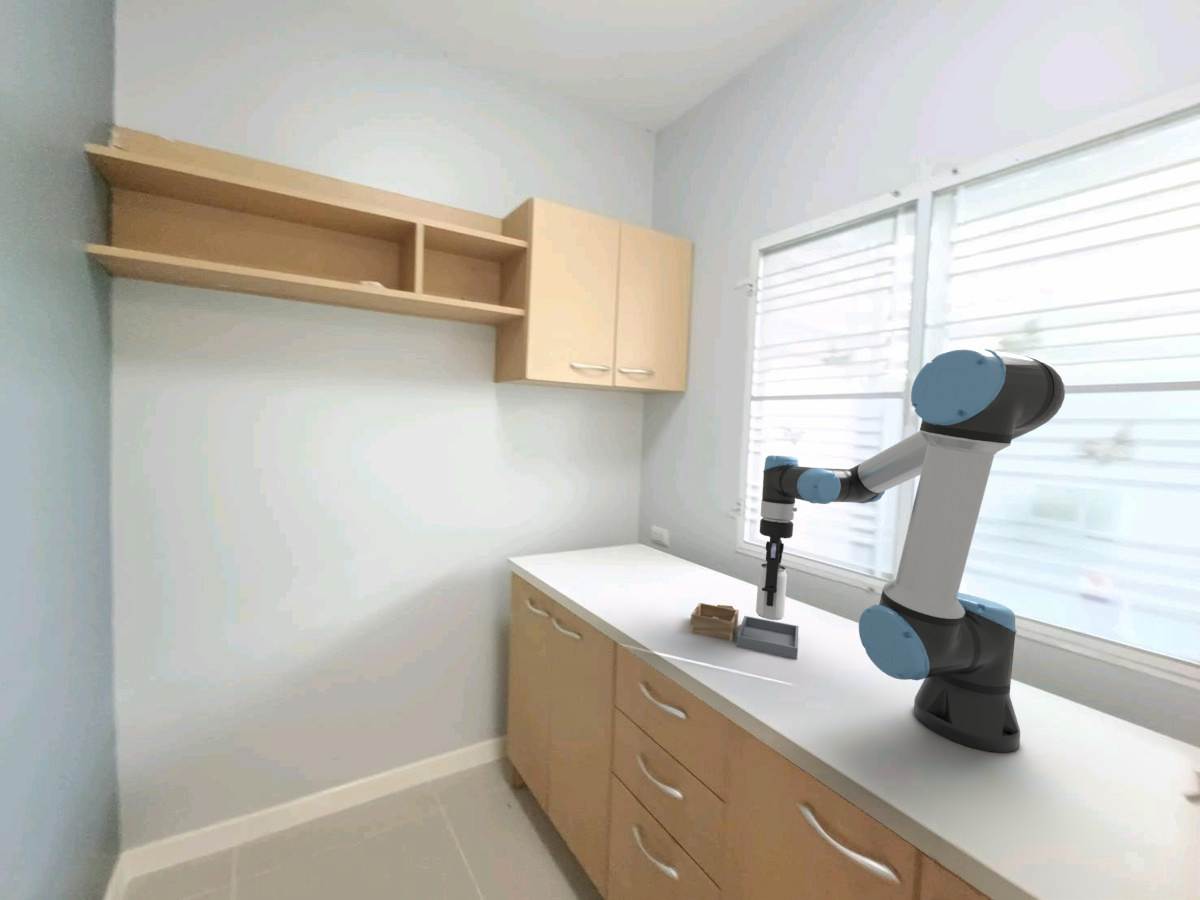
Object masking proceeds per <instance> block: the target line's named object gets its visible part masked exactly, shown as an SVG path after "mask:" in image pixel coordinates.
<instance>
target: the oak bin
mask: <svg viewBox="0 0 1200 900" xmlns="http://www.w3.org/2000/svg"><path fill="white" fill-rule="evenodd" d="M739 610H740V609H735V608H734V609H730V608H725V607H719V606H717V605H713V604H709V603H704V602H703V603H702V602H698V604H697V606H696V607H695V608H694V609H693V611H692V613H691V614H690V628H689V633H692V634H695V635H696V634H697V635H701V636H706V637H710V638H715V639H720V640H724V641H728V642H729V641H730V642H733V639H734V637H735V635H736V633H737V629H738V623H739V614H740V612H739ZM711 617H718V618H719V619H715V618H711Z"/></svg>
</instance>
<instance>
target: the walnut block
mask: <svg viewBox="0 0 1200 900" xmlns="http://www.w3.org/2000/svg"><path fill="white" fill-rule="evenodd" d="M716 606H719V607H725V608H730V609H735V608H734V607H733V606H732V605H726V604H716Z"/></svg>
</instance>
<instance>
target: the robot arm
mask: <svg viewBox="0 0 1200 900" xmlns="http://www.w3.org/2000/svg"><path fill="white" fill-rule="evenodd" d="M1063 379H1064V378H1063V377H1062V375H1061V374H1060V373H1059V371H1058V370H1057V368H1055V367H1054V366H1052V365H1051V364H1050V363H1048V362H1047V361H1045V360H1042V359H1039V358H1037V357H1033V356H1028V355H1018V354H1014V353H1013V354H1012V353H1008V352H1001V351H996V350H993V349H992V350H991V349H987V348H983V349H982V348H979V347H978V348H966V347H965V348H962V347H961V348H953V349H949V350H947V351H943V352H941V353H940V354H938V355H936V356H934V358H932V360H929V361H928V362H927V363H925V365H924V366H922V368H921V369H920V370H919V371H918V373H917V375H916V377H915V379H914V381H913V384H912V387H911V391H910V402H911V406H913V407H914V408H915V409H914V412H915V413H916V415H917V416H918V417H919V418H920V419H921V423H920V427H919V431H917V432H915V433H913V434H911V435H909V436H908V437H905V438H904V439H902V440H901V441H899V442H897V443H895V444H893V445H891V446H890V447H888V448H887V449H884V450H882V451H880V452H879V453H877V454H875V455H873V456H871V457H870V458H868V459H866V460H864V461H863V462H861V463H859V464H857V465H855V466H853V467H851V468H848V469H847V468H826V467H810V466H809V467H808V466H799V460H798V458H797V457H796V456H787V455H786V456H784V455H768V456H766V458H765V459H764V460H765V461H764V468H763V471H762V473H763V474H762V476H763V477H762V479H763V480H762V492H761V495H762V498H761V499H762V500H761V502H760V504H761V506H760V517H762V518H761V519H760V521H759V534H761V535H762V536H765V537H769V541H768V540H767V541H766V543H765V551H766V553H765V561H766V564H767V569H766V581H765V587H764V588H762V591H765V593H764V607H763V617H762V619H766V618H767V619H766V620H770V619H772V620H771V621H776V620H775V611H776V598H777V577H778V566H779V565H780V564H781V563H782V559H783V558H782V557H783V552H784V549H785V547H784V546H785V543H784V542H782V539H790V538H793V534H794V523H793V521H792V520H794V518H795V517H794V514H795V512H797V511H798V508H797V507H795V503H796V500H800V501H805V502H809V503H810V504H818V505H828V504H830V503H856V504H868V503H874V502H878V501H879V500H880V499H882V497H883V496H884V495H885V492H886V491H887V490H890V489H892V488H894V487H896V486H898V485H901V484H903V483H905V482H907V481H910V480H911V479H913V478H916V477H919V481H918V485H917V490H916V493H915V498H914V502H913V505H912V511H911V514H910V518H909V522H908V526H907V531H906V534H905V535H906V536H905V540H904V545H903V546H902V547H903V548H902V553H901V556H900V561H899V563H898V564H899V565H898V567H897V569H898V570H897V573H896V578H895V579H894V580H892V581H890V582H887V583H884V585H883V587H882V591H881V595H880V599H879V603H878V604H873V605H871V606H870V607H869V608H866V609H864V611H862V613H861V614H860V617H859V621H858V633H859V634H858V635H859V640H860V642H861V645H862V647H863V648H864V650H865V653H866V655H867V656H868V658H869V660H870V661H871V662H872V663H873V665H874V666H875V667H876V668H878V669H879V670H880V671H881V672H883V673H884V674H885V675H887V676H889V677H891V678H893V679H898V680H902V681H903V680H904V681H905V680H911V681H920V680H923V681H922V683H921V686H920V687H919V689H918V691H917V693H916V695H915V697H914V700H913V701H914V703H913V714H914V715H915V717H916V718H917V719H918V720H919V722H921V723H922V724H923V725H924V726H926V727H927V728H928V729H930V730H931V731H933V732H935V733H936V734H939V735H940V736H943V737H944V738H946V739H948V740H951V741H953V742H956V743H959V744H961V745H964V746H967V747H971V748H973V749H979V750H982V751H986V752H988V751H989V752H993V753H1009V752H1013V751H1016V750H1017V749H1019V747H1020V743H1021V729H1020V725H1019V722H1018V719H1017V716H1016V711H1015V708H1014V705H1013V702H1012V698H1011V683H1012V674H1013V673H1012V671H1013V663H1014V662H1013V660H1014V650H1015V643H1016V642H1015V639H1016V634H1017V630H1016V615H1015V613H1014V612H1013V611H1012V609H1010V608H1009V607H1007V606H1005V605H1003V604H1001V603H998V602H995V601H991V600H989V599H986V598H982V597H978V596H974V595H970V594H966V593H964V592H959V590H960V587H961V583H962V579H963V576H964V571H965V568H966V563H967V559H968V556H969V552H970V548H971V545H972V541H973V537H974V533H975V531H976V526H977V522H978V518H979V515H980V512H981V511H980V510H981V507H982V502H983V500H984V499H983V498H984V496H985V492H986V488H987V485H988V481H989V480H988V479H989V476H990V473H991V468H992V464H993V461H994V459H995V458H994V457H995V455H996V454H997V453H998V452H1000V451H1002V450H1004V449H1006V448H1008V447H1010V446H1011V444H1012V440H1015V439H1017V438H1019V437H1022V436H1024V435H1026V434H1028V433H1030V432H1032V431H1034V430H1037V429H1038V428H1040V427H1041V426H1043V425H1045V424H1046V423H1048V422H1050V420H1052V419H1053V418H1054V417H1055V416H1056V415H1057V414H1058V412H1059V410H1060V409H1061V408H1062V405H1063V404H1064V401H1065V397H1066V385H1065V382H1064V380H1063ZM780 566H781V565H780Z"/></svg>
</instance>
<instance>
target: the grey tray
mask: <svg viewBox="0 0 1200 900" xmlns="http://www.w3.org/2000/svg"><path fill="white" fill-rule="evenodd" d="M735 645H736V646H735V647H738V648H743V649H746V650H752V651H756V652H761V653H766V654H770V655H774V656H780V657H785V658H789V659H793V660H798V650H799V649H798V648H799V625H795V624H791V623H790V624H789V623H784V622H780V621H779V622H778V621H776V620H770V619H765V618H759V617H753V616H747V615H744V616H743V619H742V622H741V624H740V627H739V630H738V633H737V636H736V644H735Z"/></svg>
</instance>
